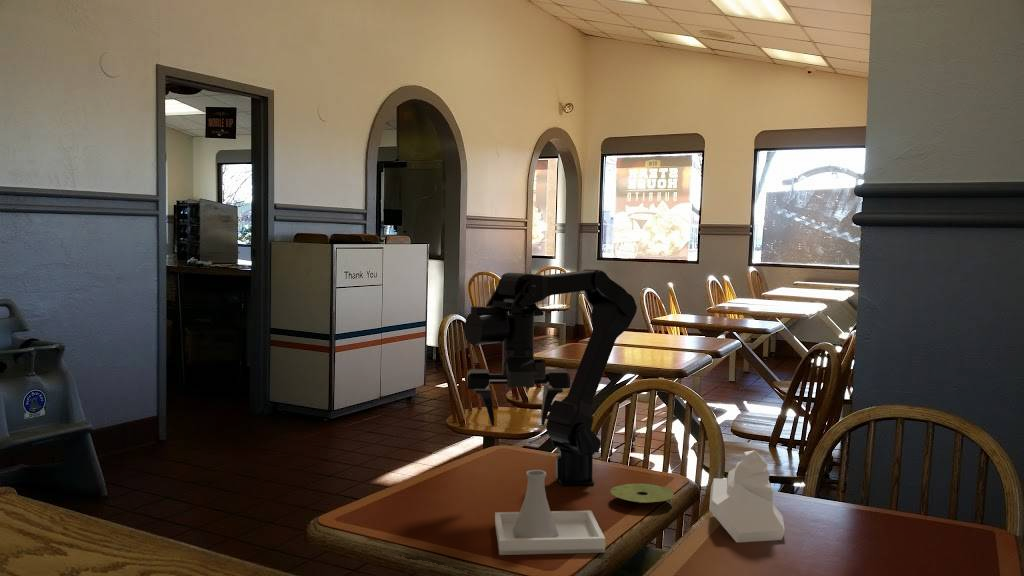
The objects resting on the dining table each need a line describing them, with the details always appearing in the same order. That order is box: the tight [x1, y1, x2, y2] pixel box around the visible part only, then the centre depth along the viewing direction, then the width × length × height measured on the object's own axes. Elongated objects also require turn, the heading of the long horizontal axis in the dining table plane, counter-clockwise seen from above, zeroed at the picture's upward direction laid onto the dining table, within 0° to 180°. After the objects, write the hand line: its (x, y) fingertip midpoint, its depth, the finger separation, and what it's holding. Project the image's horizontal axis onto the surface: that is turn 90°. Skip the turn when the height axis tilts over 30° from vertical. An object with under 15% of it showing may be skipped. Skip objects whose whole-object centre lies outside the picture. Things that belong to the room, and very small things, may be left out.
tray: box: [494, 510, 606, 556], centre depth 132 cm, size 16×13×2 cm
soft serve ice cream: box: [709, 449, 785, 543], centre depth 136 cm, size 12×15×14 cm
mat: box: [610, 483, 675, 505], centre depth 150 cm, size 11×11×2 cm
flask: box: [513, 469, 559, 538], centre depth 131 cm, size 7×7×10 cm
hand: (517, 425), depth 154 cm, fingers open, 9 cm apart
